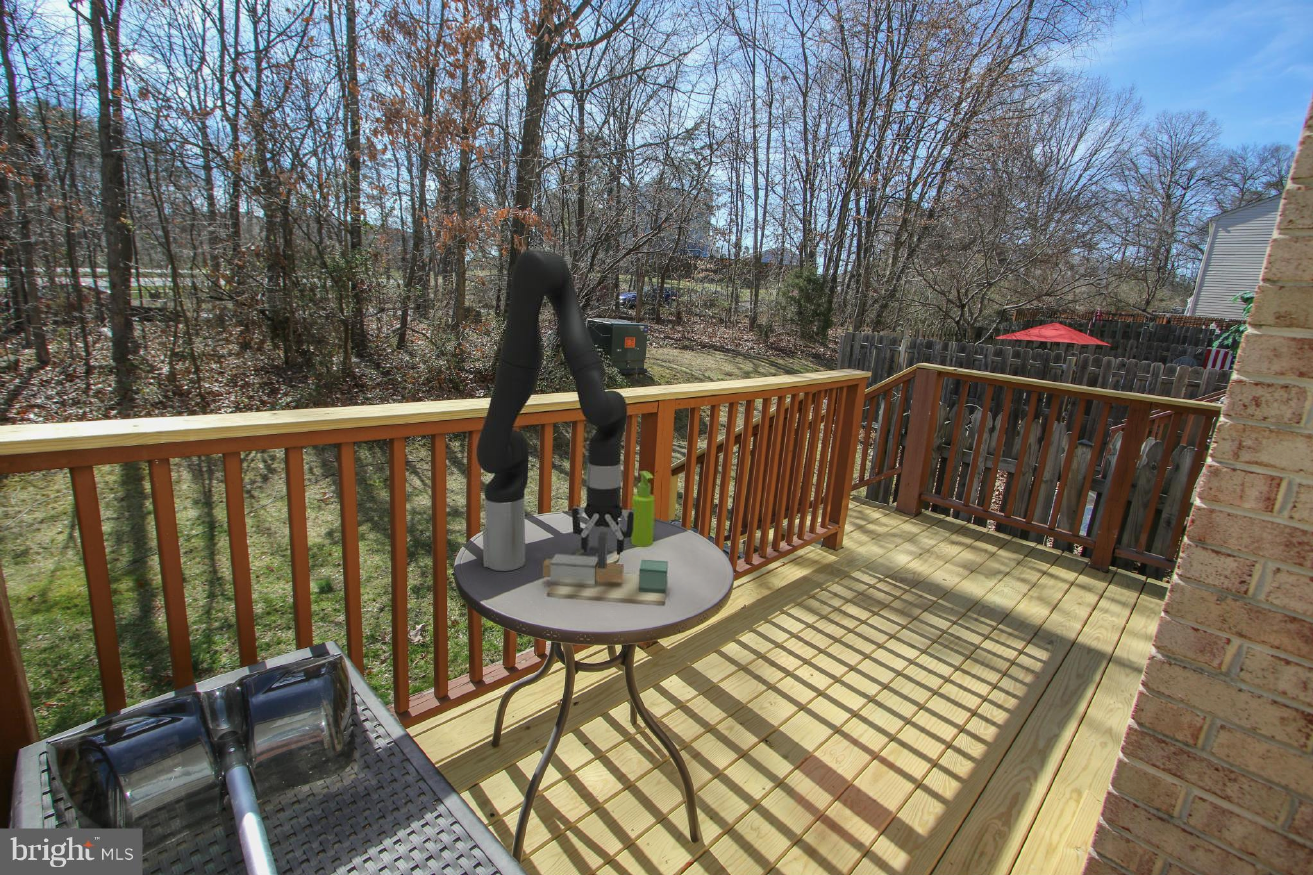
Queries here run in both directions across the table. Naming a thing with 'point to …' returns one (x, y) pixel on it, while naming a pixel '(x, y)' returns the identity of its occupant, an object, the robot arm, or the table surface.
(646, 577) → the socket block
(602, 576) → the inner bar
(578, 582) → the outer sleeve
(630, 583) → the base board
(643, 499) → the soap dispenser
